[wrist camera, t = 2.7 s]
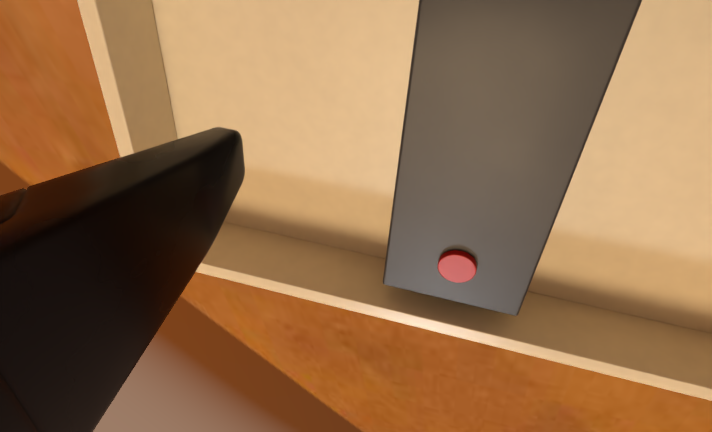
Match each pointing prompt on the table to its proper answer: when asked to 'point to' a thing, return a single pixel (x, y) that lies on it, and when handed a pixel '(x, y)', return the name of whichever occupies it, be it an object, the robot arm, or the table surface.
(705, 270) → the tray
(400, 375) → the table surface
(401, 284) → the remote
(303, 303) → the table surface
